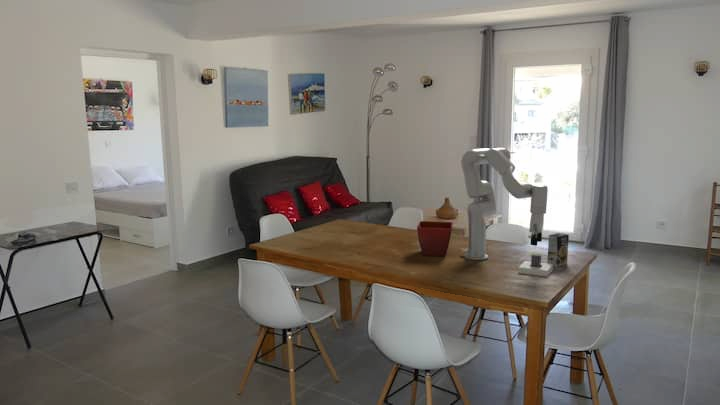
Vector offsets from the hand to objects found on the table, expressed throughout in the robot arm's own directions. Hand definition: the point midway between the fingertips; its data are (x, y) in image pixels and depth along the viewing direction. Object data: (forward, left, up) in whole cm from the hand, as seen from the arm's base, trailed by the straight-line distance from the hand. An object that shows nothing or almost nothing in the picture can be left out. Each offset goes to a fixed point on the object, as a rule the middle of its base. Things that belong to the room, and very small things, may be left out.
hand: (535, 243), depth 279 cm
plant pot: (-58, +11, -15) cm, 61 cm away
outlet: (+1, 0, -14) cm, 14 cm away
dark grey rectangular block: (+1, 0, -14) cm, 14 cm away
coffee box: (+8, +19, -15) cm, 25 cm away
